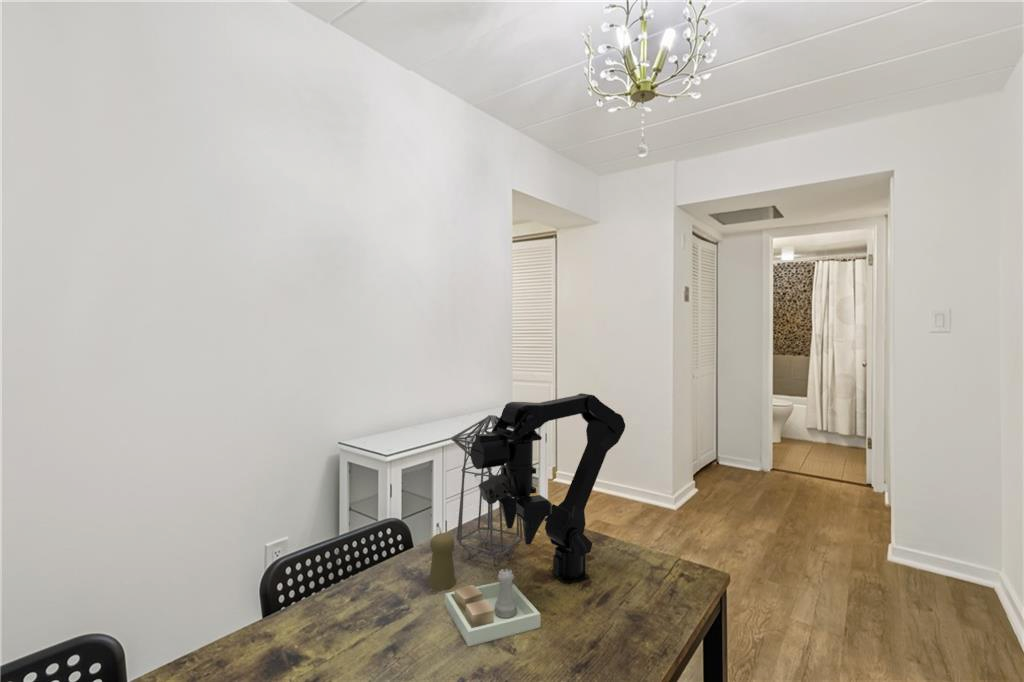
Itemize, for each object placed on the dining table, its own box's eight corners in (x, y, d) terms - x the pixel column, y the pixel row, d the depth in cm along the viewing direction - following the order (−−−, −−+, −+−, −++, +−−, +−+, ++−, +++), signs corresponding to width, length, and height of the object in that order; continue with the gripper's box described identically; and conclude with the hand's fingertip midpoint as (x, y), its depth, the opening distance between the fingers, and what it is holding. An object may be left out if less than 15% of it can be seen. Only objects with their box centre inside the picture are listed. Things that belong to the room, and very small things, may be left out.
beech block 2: (485, 620, 94) (485, 599, 94) (493, 632, 90) (493, 610, 90) (465, 625, 92) (465, 604, 92) (472, 637, 88) (472, 615, 88)
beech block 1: (472, 604, 99) (472, 584, 99) (482, 613, 96) (482, 593, 96) (454, 610, 97) (454, 590, 97) (464, 620, 94) (464, 599, 94)
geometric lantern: (445, 563, 118) (446, 416, 119) (481, 541, 132) (482, 409, 132) (502, 579, 110) (503, 421, 111) (534, 554, 124) (534, 414, 125)
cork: (450, 594, 104) (451, 542, 104) (423, 591, 105) (424, 539, 105) (459, 580, 110) (460, 531, 110) (433, 577, 111) (434, 529, 111)
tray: (509, 594, 104) (509, 579, 104) (540, 630, 92) (540, 613, 92) (445, 608, 99) (445, 593, 99) (468, 649, 86) (468, 632, 86)
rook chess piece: (520, 608, 98) (520, 568, 98) (512, 621, 94) (512, 578, 93) (498, 604, 99) (499, 564, 99) (490, 616, 95) (490, 574, 95)
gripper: (468, 456, 110) (467, 526, 110) (501, 478, 93) (500, 561, 93) (514, 451, 115) (513, 518, 115) (553, 472, 98) (552, 551, 98)
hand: (518, 535), depth 105 cm, fingers open, 9 cm apart
